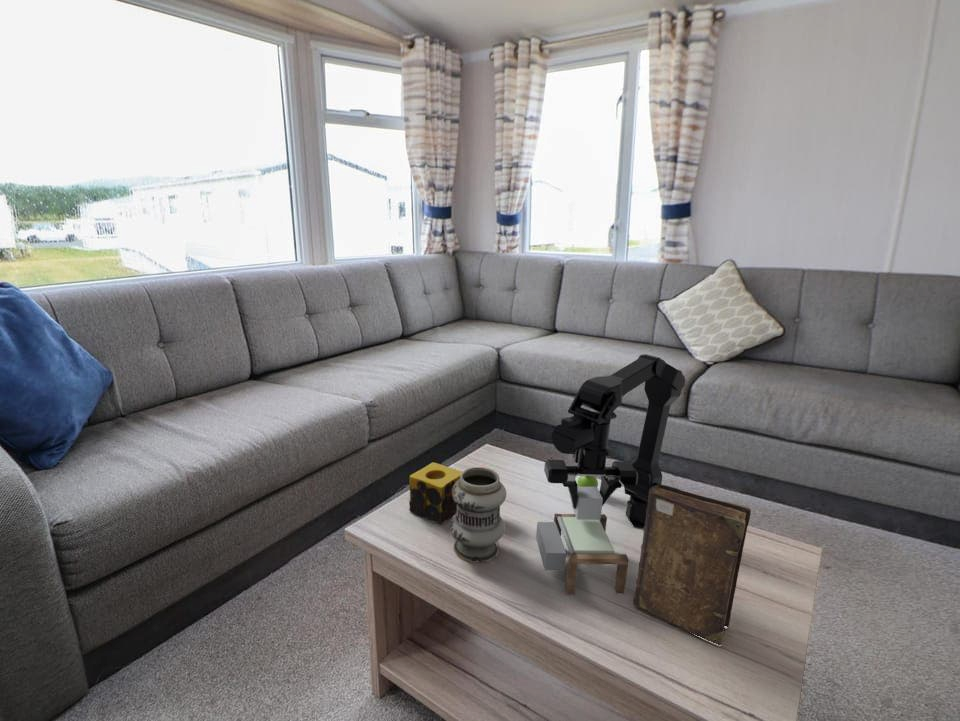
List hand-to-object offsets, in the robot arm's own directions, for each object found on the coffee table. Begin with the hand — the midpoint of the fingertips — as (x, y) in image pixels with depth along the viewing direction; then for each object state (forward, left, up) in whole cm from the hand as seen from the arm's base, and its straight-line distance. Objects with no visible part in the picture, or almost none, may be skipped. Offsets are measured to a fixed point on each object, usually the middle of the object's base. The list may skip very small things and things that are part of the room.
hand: (586, 507), depth 112 cm
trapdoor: (+3, +4, -8) cm, 10 cm away
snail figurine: (-9, -28, -12) cm, 32 cm away
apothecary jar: (+23, -2, -12) cm, 26 cm away
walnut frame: (0, +4, -12) cm, 13 cm away
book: (-14, +18, -12) cm, 26 cm away
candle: (+32, -18, -12) cm, 39 cm away
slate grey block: (0, 0, -1) cm, 1 cm away
